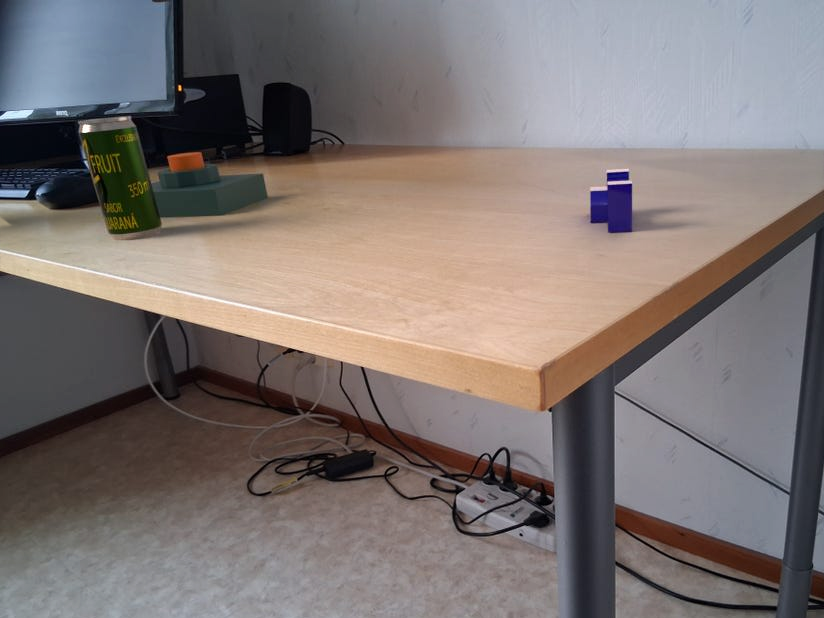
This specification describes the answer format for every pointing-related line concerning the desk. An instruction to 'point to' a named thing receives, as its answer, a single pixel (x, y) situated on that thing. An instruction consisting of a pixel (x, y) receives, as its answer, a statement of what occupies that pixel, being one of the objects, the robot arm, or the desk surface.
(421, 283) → the desk surface
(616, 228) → the cable holder
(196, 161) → the orange push button
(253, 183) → the button base
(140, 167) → the soda can
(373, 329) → the desk surface
